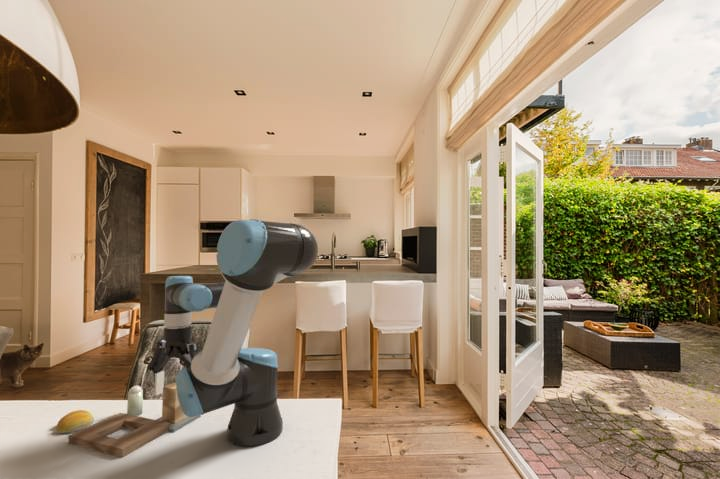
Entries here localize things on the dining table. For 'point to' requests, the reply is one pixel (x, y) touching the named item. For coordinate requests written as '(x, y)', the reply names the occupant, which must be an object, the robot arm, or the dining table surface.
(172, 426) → the slate board
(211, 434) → the dining table surface
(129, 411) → the sage shaker
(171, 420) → the oak block
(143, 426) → the walnut board
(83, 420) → the bread roll
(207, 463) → the dining table surface
